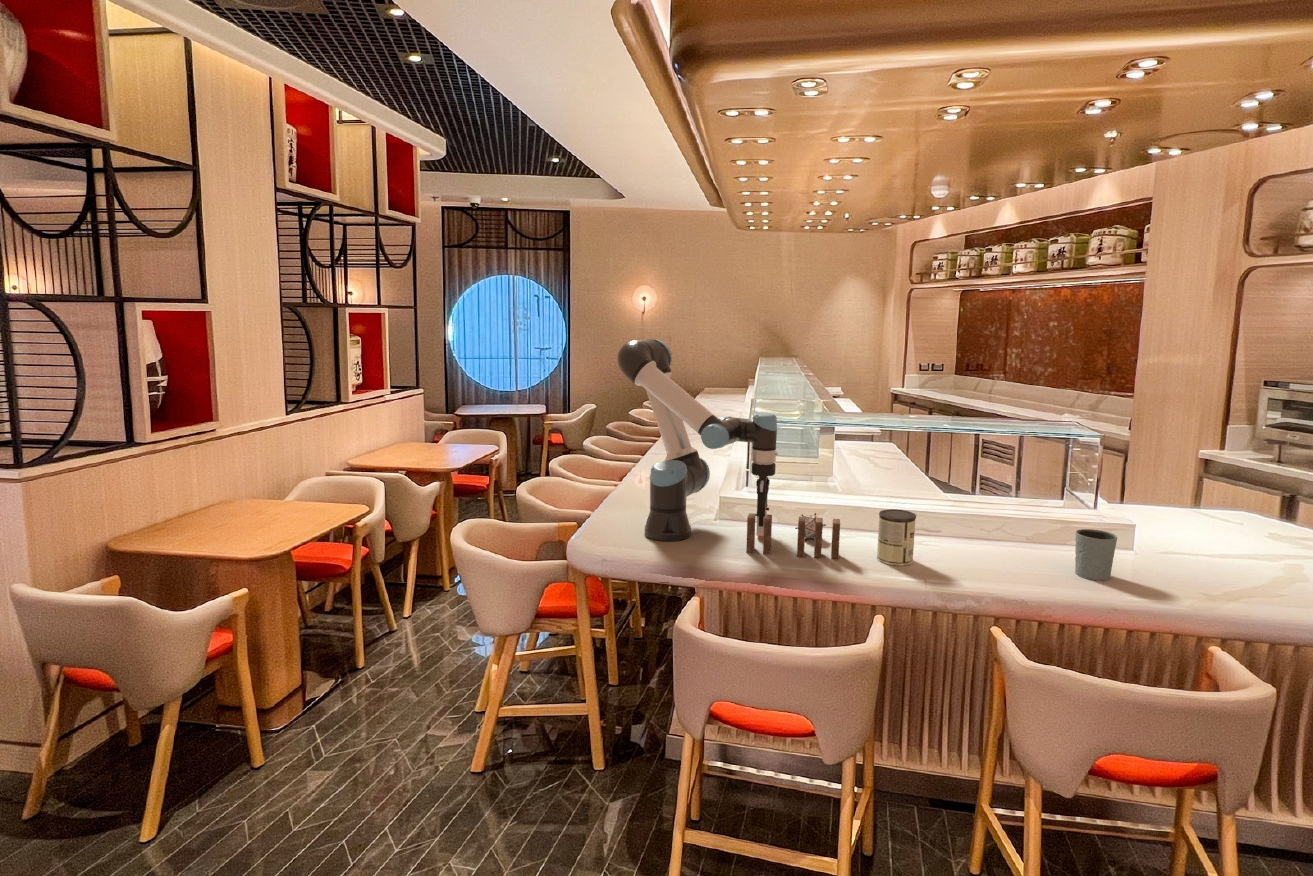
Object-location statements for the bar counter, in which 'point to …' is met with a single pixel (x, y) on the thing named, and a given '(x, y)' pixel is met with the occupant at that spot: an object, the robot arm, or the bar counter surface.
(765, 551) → the domino
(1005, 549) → the bar counter surface
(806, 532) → the game die
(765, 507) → the domino
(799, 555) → the domino
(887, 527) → the coffee can
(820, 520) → the domino
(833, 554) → the domino
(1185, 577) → the bar counter surface
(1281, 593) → the bar counter surface
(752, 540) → the domino
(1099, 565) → the grey green cup
